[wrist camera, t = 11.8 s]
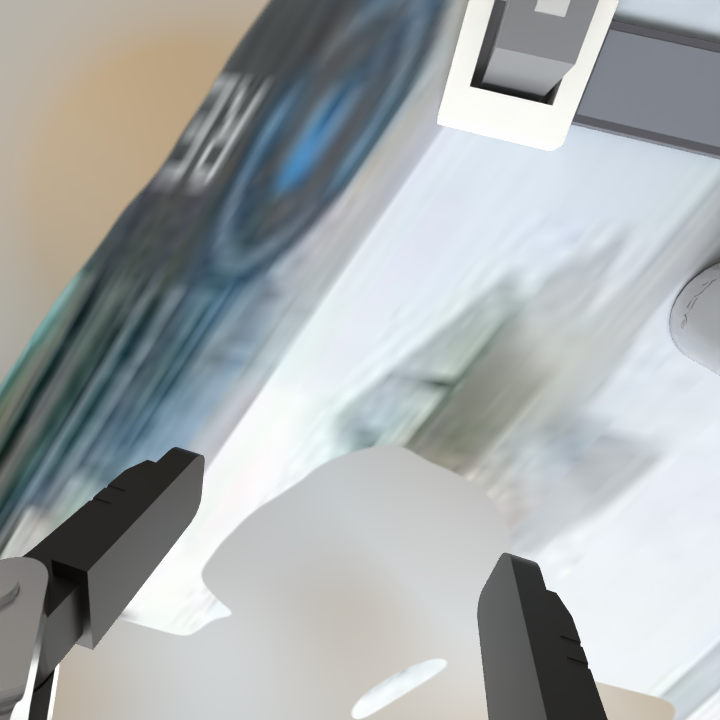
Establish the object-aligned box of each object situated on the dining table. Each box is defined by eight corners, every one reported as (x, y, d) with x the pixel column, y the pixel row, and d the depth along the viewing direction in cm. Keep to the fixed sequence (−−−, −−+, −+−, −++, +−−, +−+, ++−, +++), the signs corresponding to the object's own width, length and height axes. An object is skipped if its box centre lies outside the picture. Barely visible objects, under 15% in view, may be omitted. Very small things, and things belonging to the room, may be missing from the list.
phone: (778, 62, 26) (789, 58, 25) (724, 160, 28) (733, 159, 27) (599, 23, 27) (604, 17, 26) (561, 121, 29) (565, 119, 28)
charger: (563, 28, 27) (615, -42, 19) (538, 102, 28) (576, 63, 21) (501, 15, 27) (527, -59, 19) (479, 88, 29) (496, 46, 21)
